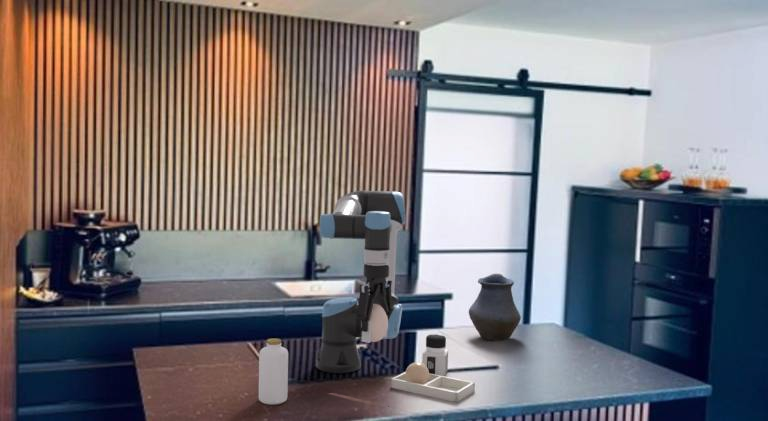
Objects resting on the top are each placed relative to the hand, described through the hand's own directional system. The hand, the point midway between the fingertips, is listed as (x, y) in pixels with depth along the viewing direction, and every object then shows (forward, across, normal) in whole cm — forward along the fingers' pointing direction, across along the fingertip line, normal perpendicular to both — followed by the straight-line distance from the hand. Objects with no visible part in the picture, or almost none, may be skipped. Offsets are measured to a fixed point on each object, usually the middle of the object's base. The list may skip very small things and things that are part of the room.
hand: (374, 339), depth 219 cm
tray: (+17, +15, -12) cm, 26 cm away
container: (+17, +31, -4) cm, 36 cm away
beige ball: (+17, +14, -7) cm, 23 cm away
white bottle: (+18, -22, +20) cm, 35 cm away
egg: (+1, 0, 0) cm, 1 cm away
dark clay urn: (+17, +88, +2) cm, 90 cm away
